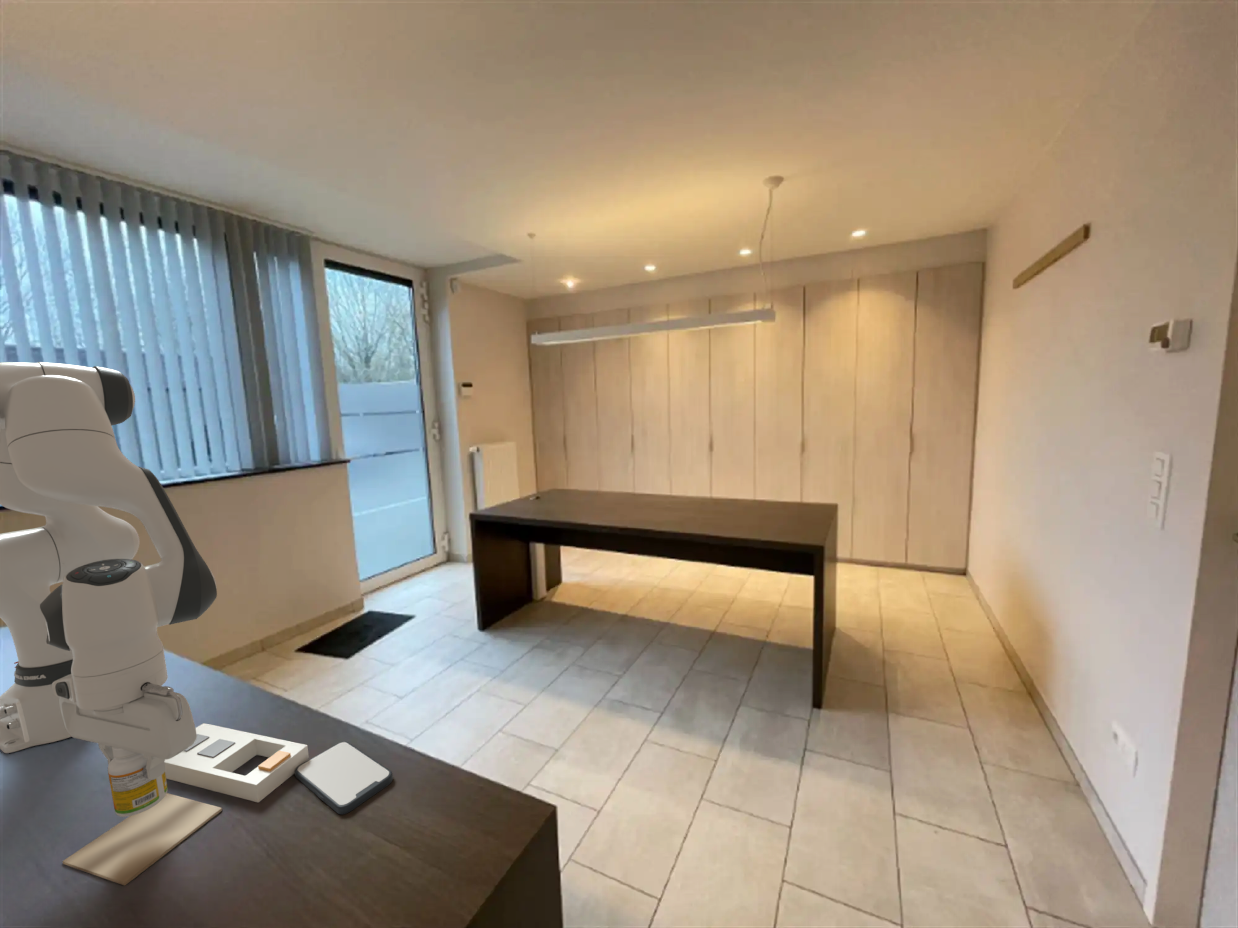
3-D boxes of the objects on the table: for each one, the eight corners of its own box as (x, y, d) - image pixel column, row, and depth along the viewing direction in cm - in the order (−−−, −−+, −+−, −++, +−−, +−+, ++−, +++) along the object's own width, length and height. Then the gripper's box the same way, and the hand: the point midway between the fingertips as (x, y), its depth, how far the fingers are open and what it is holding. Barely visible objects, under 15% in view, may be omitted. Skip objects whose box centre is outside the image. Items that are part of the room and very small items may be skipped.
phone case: (291, 778, 81) (341, 820, 72) (290, 769, 81) (340, 810, 72) (345, 746, 89) (397, 781, 80) (345, 738, 88) (396, 772, 80)
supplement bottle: (138, 788, 72) (128, 727, 71) (178, 785, 72) (168, 724, 71) (103, 820, 66) (92, 754, 65) (146, 816, 67) (135, 750, 66)
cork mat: (62, 863, 66) (62, 860, 66) (165, 794, 77) (164, 792, 77) (124, 885, 63) (124, 882, 63) (222, 810, 74) (221, 807, 74)
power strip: (148, 773, 82) (145, 754, 81) (205, 737, 91) (203, 720, 90) (258, 802, 76) (255, 781, 75) (309, 760, 84) (307, 742, 84)
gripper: (203, 676, 67) (216, 768, 69) (101, 658, 73) (116, 744, 74) (149, 703, 61) (164, 803, 63) (42, 682, 67) (59, 774, 68)
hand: (137, 771), depth 69 cm, fingers closed on supplement bottle, 5 cm apart
